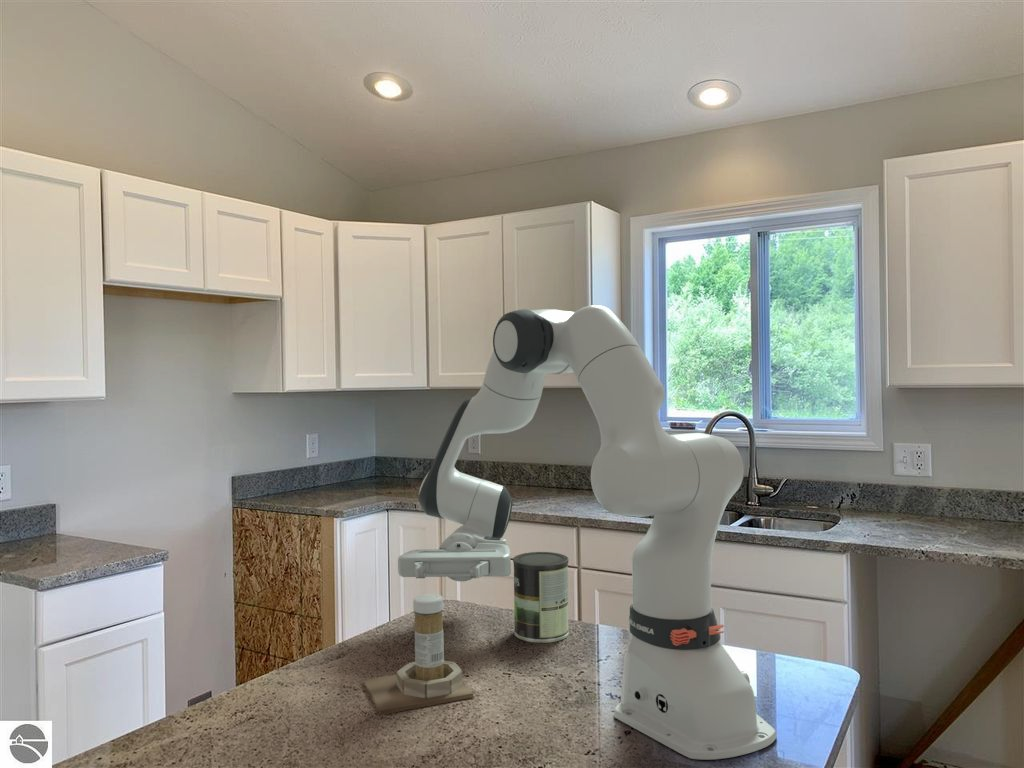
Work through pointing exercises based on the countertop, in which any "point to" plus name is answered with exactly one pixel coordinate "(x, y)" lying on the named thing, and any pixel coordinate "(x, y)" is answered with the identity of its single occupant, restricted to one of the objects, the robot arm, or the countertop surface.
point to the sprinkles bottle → (428, 637)
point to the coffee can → (541, 597)
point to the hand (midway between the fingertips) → (446, 573)
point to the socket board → (405, 702)
